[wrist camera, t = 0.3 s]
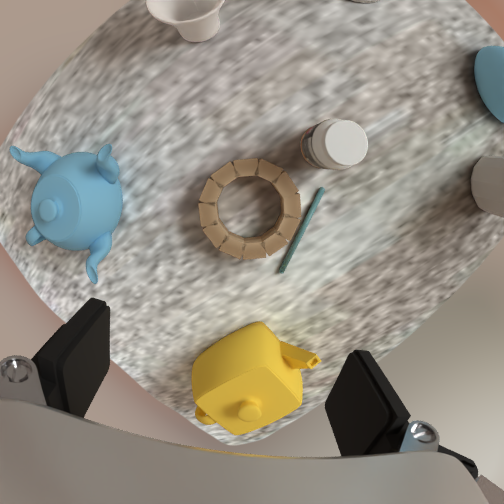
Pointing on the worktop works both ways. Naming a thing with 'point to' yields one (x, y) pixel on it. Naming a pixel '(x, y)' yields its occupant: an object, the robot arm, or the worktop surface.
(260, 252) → the segmented tan ring
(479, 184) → the jar
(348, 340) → the worktop surface
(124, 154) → the worktop surface
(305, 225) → the green stick
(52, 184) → the teapot
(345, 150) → the pill bottle
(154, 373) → the worktop surface
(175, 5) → the cup
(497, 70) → the sugar bowl
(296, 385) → the teapot
